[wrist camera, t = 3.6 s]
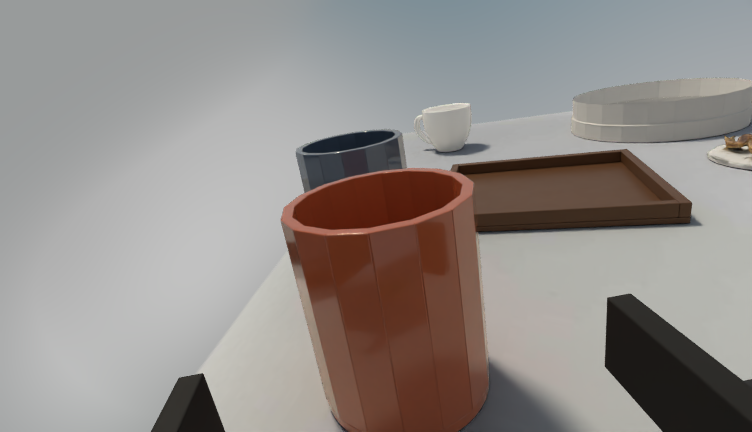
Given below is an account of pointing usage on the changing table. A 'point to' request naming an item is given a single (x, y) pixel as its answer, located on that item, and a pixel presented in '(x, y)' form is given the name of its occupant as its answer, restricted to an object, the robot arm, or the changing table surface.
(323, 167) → the slate cup
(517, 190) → the tray
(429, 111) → the cup
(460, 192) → the terracotta cup
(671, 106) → the dish
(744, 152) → the frog figurine
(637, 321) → the robot arm
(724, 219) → the changing table surface
